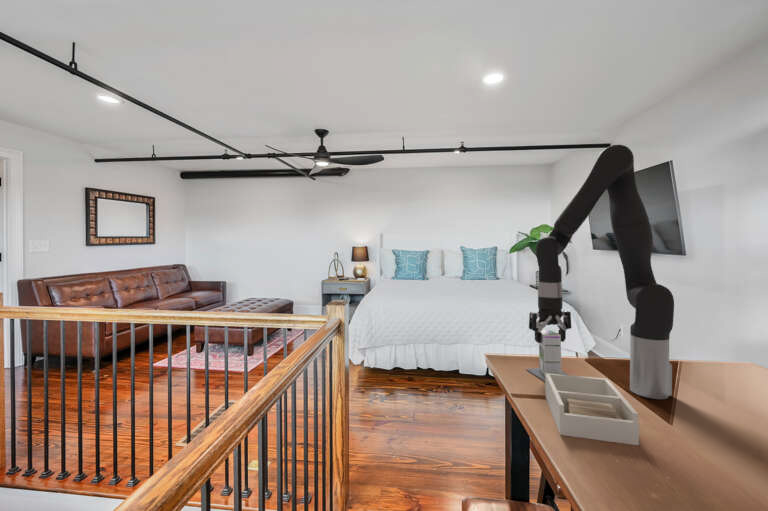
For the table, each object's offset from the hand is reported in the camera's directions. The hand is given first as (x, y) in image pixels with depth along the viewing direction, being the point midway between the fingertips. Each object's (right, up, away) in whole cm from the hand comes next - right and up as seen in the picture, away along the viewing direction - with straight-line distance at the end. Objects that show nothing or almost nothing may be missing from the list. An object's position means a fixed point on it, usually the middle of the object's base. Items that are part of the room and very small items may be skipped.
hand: (550, 341), depth 116 cm
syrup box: (0, -11, 0) cm, 11 cm away
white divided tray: (-5, -13, -28) cm, 31 cm away
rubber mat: (0, -12, 0) cm, 12 cm away
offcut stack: (-6, -13, -34) cm, 37 cm away
